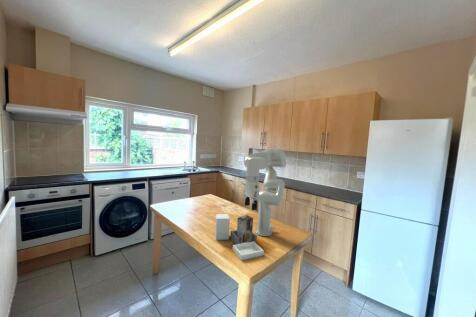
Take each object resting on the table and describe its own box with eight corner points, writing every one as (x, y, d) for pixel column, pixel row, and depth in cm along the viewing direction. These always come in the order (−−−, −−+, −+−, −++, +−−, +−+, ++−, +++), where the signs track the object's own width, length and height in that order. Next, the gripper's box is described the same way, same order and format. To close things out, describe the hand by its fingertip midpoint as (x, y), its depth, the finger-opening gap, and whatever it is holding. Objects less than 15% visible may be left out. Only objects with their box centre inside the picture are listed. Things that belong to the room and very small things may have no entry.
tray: (253, 245, 127) (254, 241, 127) (263, 255, 116) (264, 250, 116) (232, 249, 121) (232, 245, 120) (241, 260, 110) (241, 255, 110)
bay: (247, 235, 142) (248, 228, 141) (256, 243, 131) (256, 235, 130) (230, 238, 136) (230, 231, 135) (237, 246, 125) (237, 239, 124)
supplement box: (227, 233, 142) (228, 213, 141) (228, 239, 133) (230, 218, 132) (214, 234, 140) (215, 213, 139) (215, 240, 131) (216, 218, 130)
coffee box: (245, 237, 139) (246, 214, 138) (252, 240, 134) (253, 217, 133) (235, 240, 133) (237, 217, 132) (242, 244, 128) (243, 220, 127)
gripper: (265, 181, 109) (263, 211, 110) (250, 176, 125) (249, 202, 126) (254, 181, 106) (252, 213, 107) (240, 176, 122) (238, 203, 123)
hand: (250, 207), depth 117 cm, fingers open, 8 cm apart
